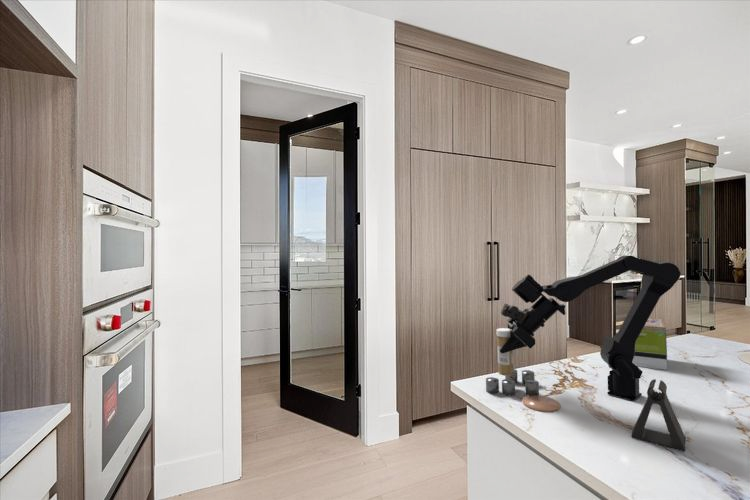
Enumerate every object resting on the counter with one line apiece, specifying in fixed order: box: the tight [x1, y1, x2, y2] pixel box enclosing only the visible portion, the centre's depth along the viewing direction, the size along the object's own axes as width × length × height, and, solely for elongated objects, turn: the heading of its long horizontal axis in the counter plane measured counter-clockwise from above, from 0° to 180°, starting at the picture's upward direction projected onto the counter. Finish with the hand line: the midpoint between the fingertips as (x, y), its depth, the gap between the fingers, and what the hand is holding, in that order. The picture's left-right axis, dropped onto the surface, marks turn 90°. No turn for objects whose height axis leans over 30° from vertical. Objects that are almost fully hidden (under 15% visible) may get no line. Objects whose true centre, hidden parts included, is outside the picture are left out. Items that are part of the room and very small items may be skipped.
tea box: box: [632, 317, 668, 371], centre depth 130 cm, size 15×10×15 cm, turn 144°
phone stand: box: [630, 379, 687, 452], centre depth 79 cm, size 9×6×12 cm, turn 48°
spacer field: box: [485, 368, 540, 397], centre depth 108 cm, size 13×17×4 cm
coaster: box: [522, 394, 561, 413], centre depth 97 cm, size 9×9×1 cm
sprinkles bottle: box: [496, 327, 514, 377], centre depth 110 cm, size 5×5×13 cm
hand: (500, 350), depth 110 cm, fingers closed on sprinkles bottle, 4 cm apart
